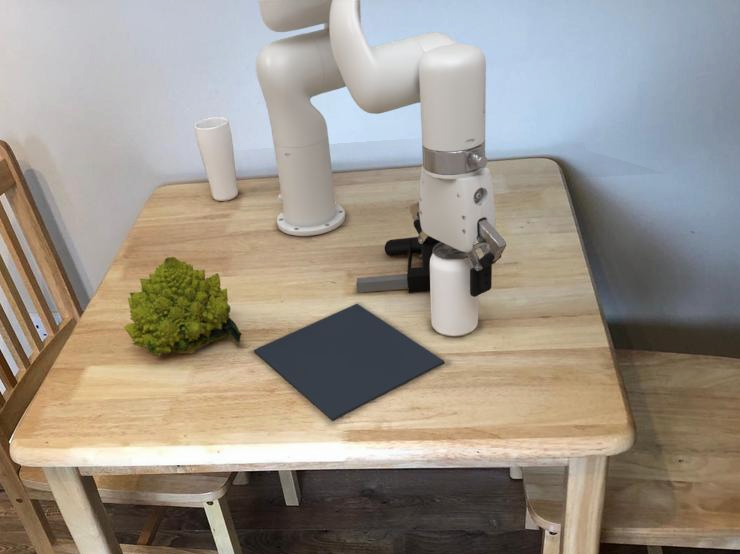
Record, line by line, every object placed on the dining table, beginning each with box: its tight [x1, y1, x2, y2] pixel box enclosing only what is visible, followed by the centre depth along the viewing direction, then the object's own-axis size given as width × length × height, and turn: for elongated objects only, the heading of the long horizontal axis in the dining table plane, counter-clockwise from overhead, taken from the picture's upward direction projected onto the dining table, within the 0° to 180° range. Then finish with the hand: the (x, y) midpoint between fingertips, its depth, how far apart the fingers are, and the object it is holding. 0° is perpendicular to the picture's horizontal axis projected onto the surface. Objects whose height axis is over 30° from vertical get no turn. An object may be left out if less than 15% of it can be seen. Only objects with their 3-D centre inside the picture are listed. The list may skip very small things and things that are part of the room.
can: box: [429, 242, 479, 338], centre depth 104 cm, size 6×6×12 cm
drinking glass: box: [193, 116, 239, 202], centre depth 149 cm, size 7×7×15 cm
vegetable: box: [123, 256, 242, 357], centre depth 110 cm, size 15×16×15 cm
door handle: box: [355, 236, 430, 294], centre depth 119 cm, size 3×20×16 cm
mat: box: [253, 303, 445, 422], centre depth 104 cm, size 20×18×1 cm
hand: (455, 279), depth 103 cm, fingers open, 9 cm apart
